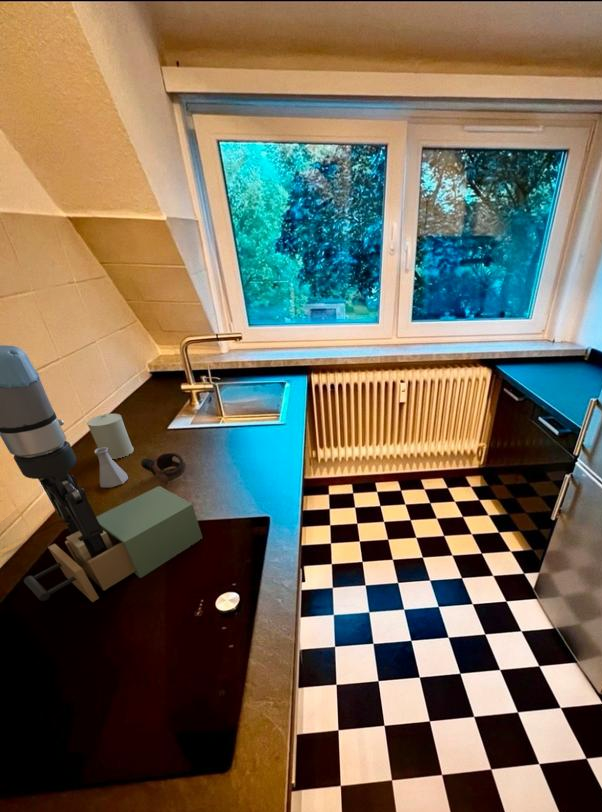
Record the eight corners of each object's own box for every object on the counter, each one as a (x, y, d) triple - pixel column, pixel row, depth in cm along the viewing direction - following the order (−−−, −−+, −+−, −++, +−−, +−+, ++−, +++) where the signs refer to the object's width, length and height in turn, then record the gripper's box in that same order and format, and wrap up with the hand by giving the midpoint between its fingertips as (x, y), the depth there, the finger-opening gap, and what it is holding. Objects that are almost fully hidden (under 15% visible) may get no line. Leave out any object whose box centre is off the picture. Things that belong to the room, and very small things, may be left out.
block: (116, 552, 75) (106, 532, 73) (88, 567, 72) (78, 547, 69) (103, 542, 78) (94, 523, 75) (76, 556, 74) (65, 537, 72)
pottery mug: (191, 465, 116) (188, 450, 109) (184, 493, 111) (182, 478, 104) (146, 460, 112) (141, 444, 106) (138, 488, 107) (132, 473, 101)
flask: (103, 476, 110) (89, 445, 105) (131, 472, 112) (118, 441, 106) (96, 490, 104) (81, 458, 99) (126, 485, 106) (113, 453, 100)
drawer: (57, 624, 67) (36, 593, 63) (31, 595, 73) (11, 565, 69) (160, 559, 80) (148, 530, 76) (131, 538, 86) (119, 511, 82)
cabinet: (140, 578, 77) (124, 542, 72) (109, 553, 83) (92, 518, 78) (202, 538, 87) (192, 504, 82) (171, 518, 93) (159, 485, 88)
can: (133, 443, 127) (120, 409, 121) (134, 455, 120) (121, 419, 114) (101, 450, 123) (86, 415, 117) (101, 463, 117) (85, 426, 110)
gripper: (91, 453, 60) (139, 561, 73) (44, 425, 69) (93, 526, 82) (36, 474, 55) (97, 586, 68) (-8, 441, 64) (54, 546, 77)
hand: (95, 553), depth 75 cm, fingers closed on block, 5 cm apart
